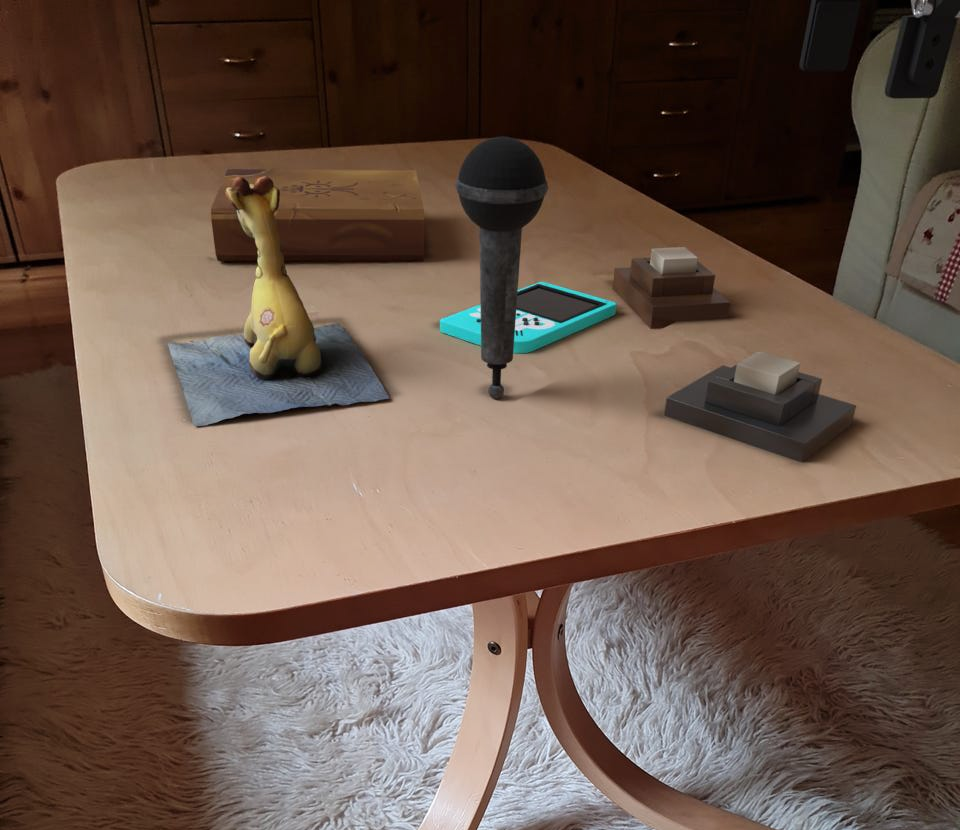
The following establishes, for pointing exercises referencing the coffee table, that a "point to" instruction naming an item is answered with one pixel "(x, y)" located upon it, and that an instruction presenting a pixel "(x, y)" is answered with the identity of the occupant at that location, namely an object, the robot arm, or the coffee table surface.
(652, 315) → the far block
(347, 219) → the brown wooden box
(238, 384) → the giraffe figurine
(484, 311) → the microphone
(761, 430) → the near block
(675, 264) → the far key
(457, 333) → the handheld game console
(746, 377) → the near key
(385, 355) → the coffee table surface
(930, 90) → the robot arm
